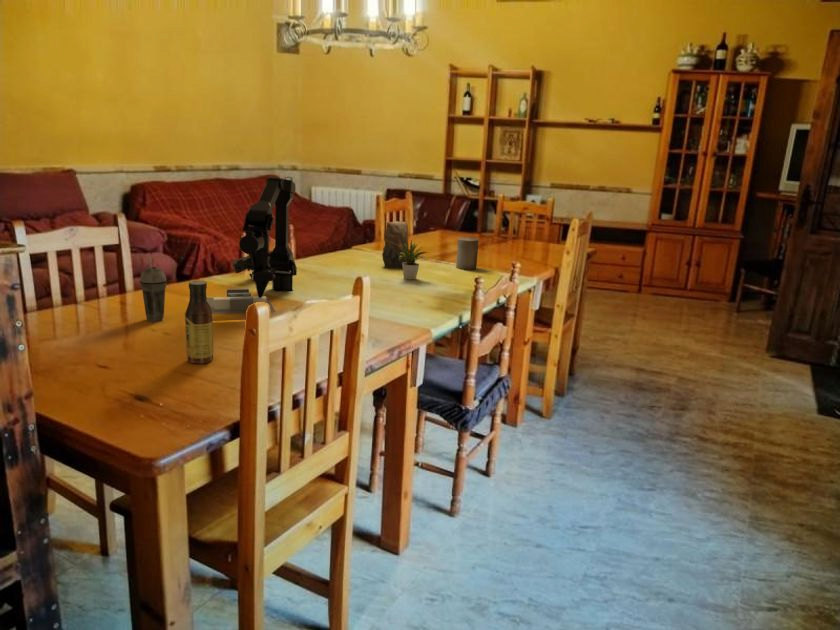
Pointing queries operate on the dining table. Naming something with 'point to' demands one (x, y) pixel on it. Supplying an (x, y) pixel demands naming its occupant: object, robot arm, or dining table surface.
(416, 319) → the dining table surface
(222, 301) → the light grey bar
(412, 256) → the house plant
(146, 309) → the beverage cup
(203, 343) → the sauce bottle
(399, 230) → the rough stone block
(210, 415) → the dining table surface
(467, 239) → the pillar candle
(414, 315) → the dining table surface
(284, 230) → the robot arm
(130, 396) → the dining table surface
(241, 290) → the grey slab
